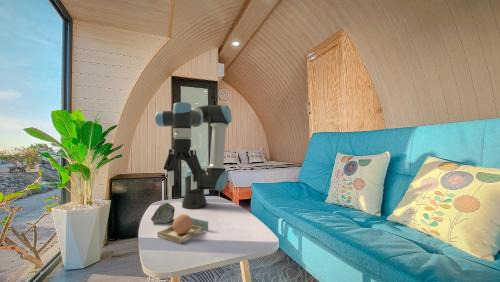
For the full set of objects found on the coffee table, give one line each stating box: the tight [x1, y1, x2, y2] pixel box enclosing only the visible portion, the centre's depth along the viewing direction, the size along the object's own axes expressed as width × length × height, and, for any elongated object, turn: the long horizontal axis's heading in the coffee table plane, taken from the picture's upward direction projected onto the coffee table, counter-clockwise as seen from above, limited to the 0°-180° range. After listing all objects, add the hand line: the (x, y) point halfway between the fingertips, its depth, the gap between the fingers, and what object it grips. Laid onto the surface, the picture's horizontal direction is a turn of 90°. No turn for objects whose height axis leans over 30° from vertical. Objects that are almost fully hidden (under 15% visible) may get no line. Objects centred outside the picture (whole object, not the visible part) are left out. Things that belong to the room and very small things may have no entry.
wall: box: [189, 216, 209, 232], centre depth 102 cm, size 1×17×4 cm, turn 62°
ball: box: [172, 214, 192, 234], centre depth 94 cm, size 8×8×8 cm
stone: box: [150, 202, 176, 224], centre depth 110 cm, size 10×10×10 cm
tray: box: [157, 225, 204, 245], centre depth 94 cm, size 13×13×2 cm
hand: (182, 187), depth 95 cm, fingers open, 13 cm apart
